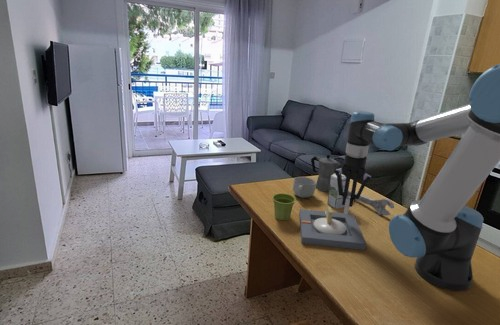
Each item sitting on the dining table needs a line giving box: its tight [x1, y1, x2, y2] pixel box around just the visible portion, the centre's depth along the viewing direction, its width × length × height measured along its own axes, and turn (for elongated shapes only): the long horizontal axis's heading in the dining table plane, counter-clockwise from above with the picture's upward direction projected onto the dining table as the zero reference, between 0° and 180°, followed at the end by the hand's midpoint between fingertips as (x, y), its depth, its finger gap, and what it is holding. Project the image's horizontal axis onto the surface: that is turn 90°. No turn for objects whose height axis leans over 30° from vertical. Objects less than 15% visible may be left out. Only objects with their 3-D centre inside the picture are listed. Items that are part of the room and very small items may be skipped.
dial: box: [314, 205, 346, 235], centre depth 115 cm, size 12×12×6 cm
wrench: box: [347, 189, 395, 216], centre depth 138 cm, size 8×2×30 cm
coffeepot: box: [310, 154, 341, 192], centre depth 155 cm, size 15×9×18 cm, turn 55°
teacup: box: [292, 176, 317, 199], centre depth 144 cm, size 14×11×8 cm
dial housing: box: [298, 208, 367, 251], centre depth 116 cm, size 22×22×3 cm
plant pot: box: [272, 192, 297, 221], centre depth 123 cm, size 9×9×9 cm
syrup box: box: [327, 173, 346, 210], centre depth 135 cm, size 6×6×14 cm
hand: (345, 213), depth 116 cm, fingers closed
